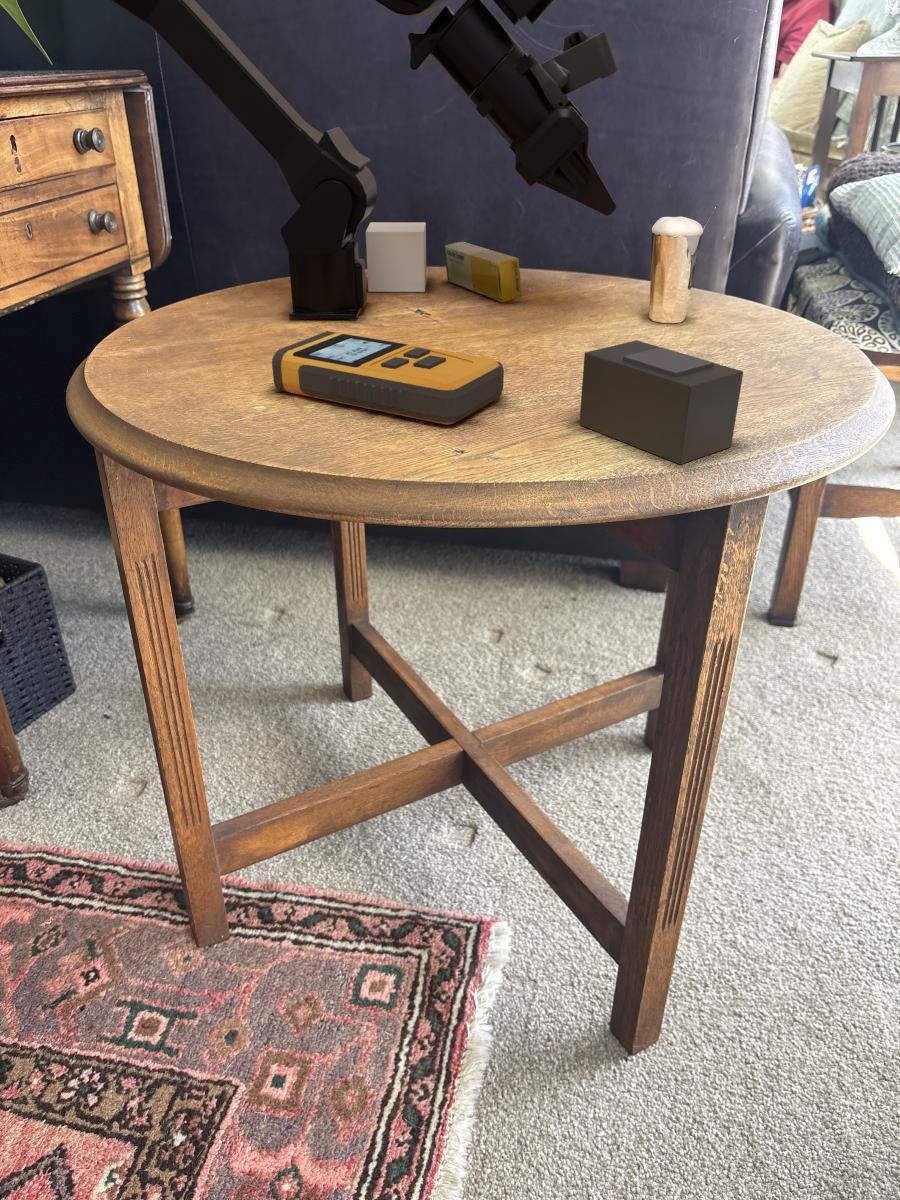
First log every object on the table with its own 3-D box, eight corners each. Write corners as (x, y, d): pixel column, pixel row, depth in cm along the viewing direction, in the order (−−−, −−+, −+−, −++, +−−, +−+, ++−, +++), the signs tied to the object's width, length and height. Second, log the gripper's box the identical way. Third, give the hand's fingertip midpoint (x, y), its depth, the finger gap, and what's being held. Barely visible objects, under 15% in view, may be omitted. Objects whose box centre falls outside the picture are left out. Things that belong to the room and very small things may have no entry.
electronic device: (451, 435, 63) (451, 387, 61) (270, 395, 70) (266, 350, 68) (509, 399, 69) (510, 354, 68) (337, 365, 76) (335, 323, 74)
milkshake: (700, 327, 87) (716, 211, 82) (641, 324, 88) (653, 209, 82) (699, 315, 90) (714, 203, 85) (643, 312, 91) (654, 201, 86)
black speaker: (584, 348, 62) (691, 382, 55) (637, 336, 64) (744, 367, 58) (578, 424, 64) (680, 465, 58) (629, 410, 67) (731, 447, 61)
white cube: (368, 292, 99) (365, 231, 96) (372, 280, 104) (370, 222, 101) (425, 291, 99) (424, 231, 96) (426, 279, 104) (425, 222, 101)
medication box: (445, 283, 103) (441, 244, 101) (467, 278, 104) (463, 240, 102) (500, 303, 94) (497, 261, 92) (523, 297, 95) (521, 256, 92)
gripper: (566, -16, 69) (699, 152, 73) (562, -4, 85) (672, 133, 89) (458, 105, 73) (590, 256, 78) (474, 95, 89) (583, 220, 94)
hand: (612, 211), depth 85 cm, fingers closed
